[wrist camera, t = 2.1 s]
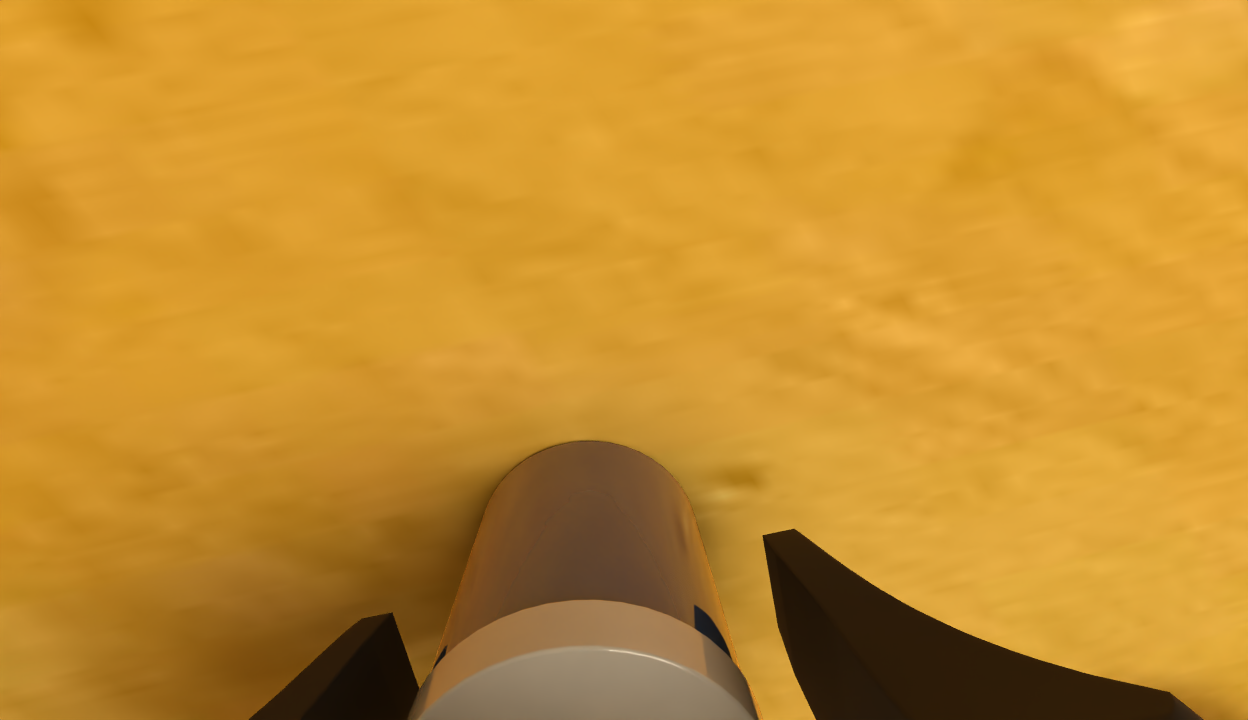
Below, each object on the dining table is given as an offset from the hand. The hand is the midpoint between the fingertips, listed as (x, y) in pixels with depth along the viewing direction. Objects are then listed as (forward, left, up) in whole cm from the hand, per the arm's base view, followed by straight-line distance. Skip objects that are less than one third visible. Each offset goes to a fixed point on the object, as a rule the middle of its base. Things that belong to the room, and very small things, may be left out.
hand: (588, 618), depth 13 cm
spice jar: (0, 0, -3) cm, 3 cm away
